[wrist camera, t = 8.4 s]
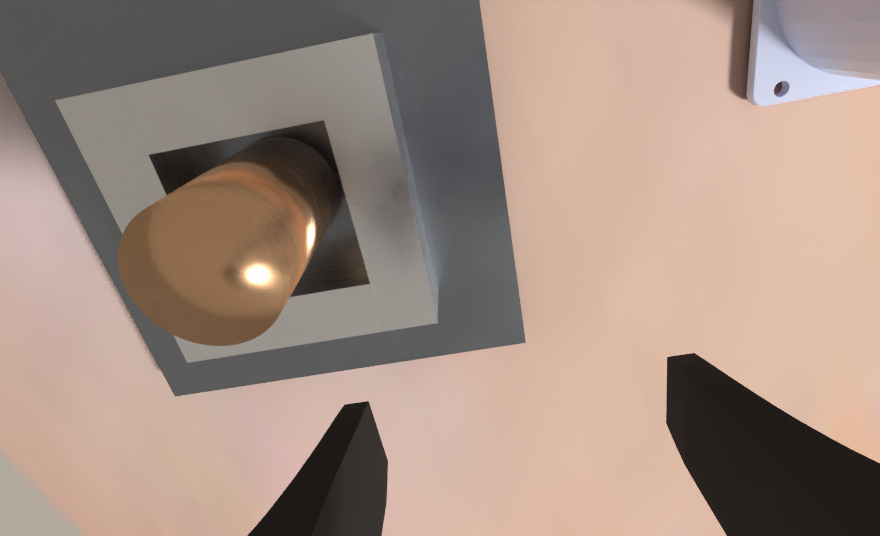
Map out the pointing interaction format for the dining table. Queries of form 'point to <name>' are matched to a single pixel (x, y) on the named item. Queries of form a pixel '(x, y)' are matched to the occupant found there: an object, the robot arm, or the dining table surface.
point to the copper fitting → (230, 243)
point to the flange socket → (301, 118)
